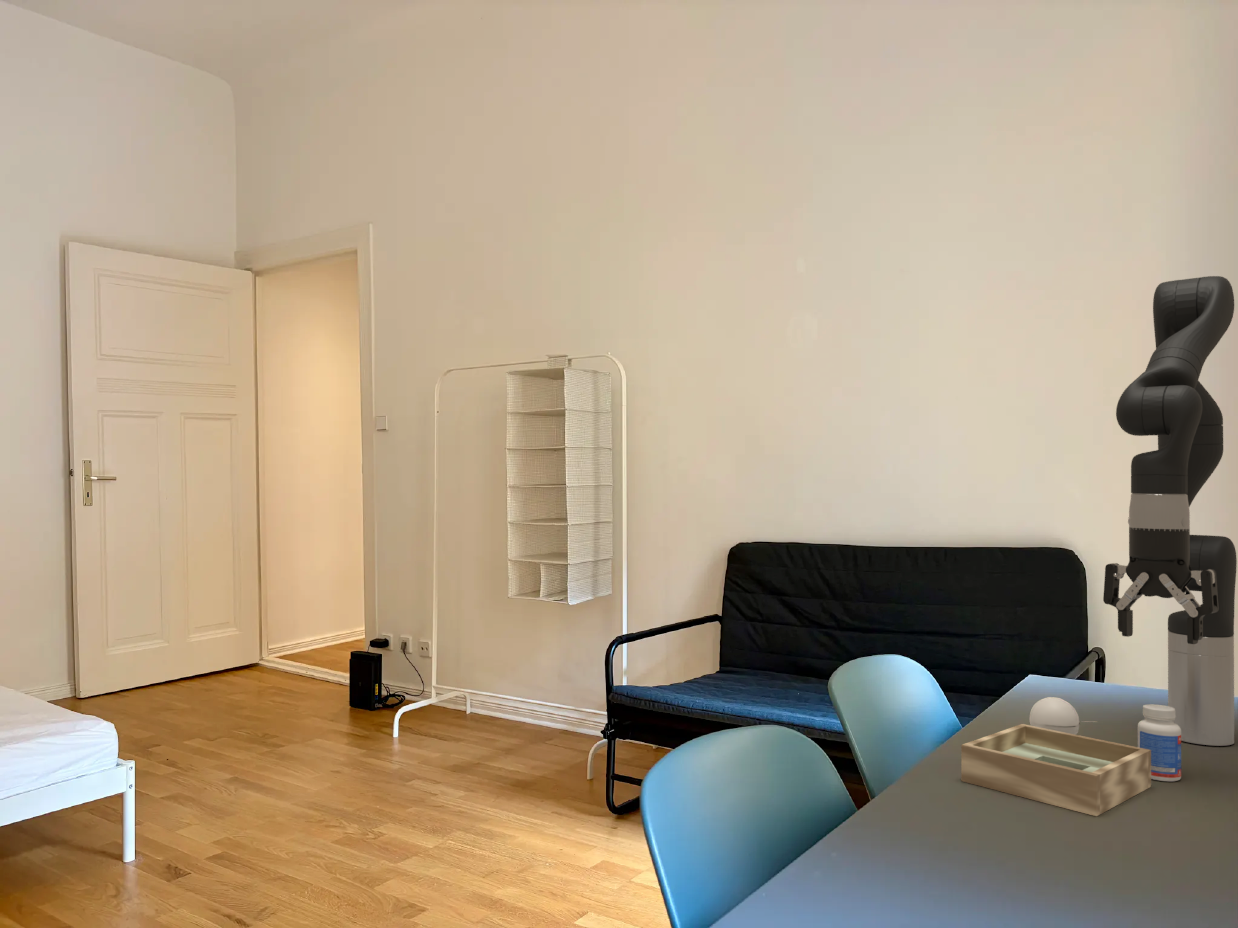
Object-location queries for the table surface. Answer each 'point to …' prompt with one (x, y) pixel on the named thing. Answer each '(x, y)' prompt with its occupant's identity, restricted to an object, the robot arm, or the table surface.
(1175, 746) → the pill bottle
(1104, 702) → the table surface
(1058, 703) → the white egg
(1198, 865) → the table surface
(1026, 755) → the bore box
